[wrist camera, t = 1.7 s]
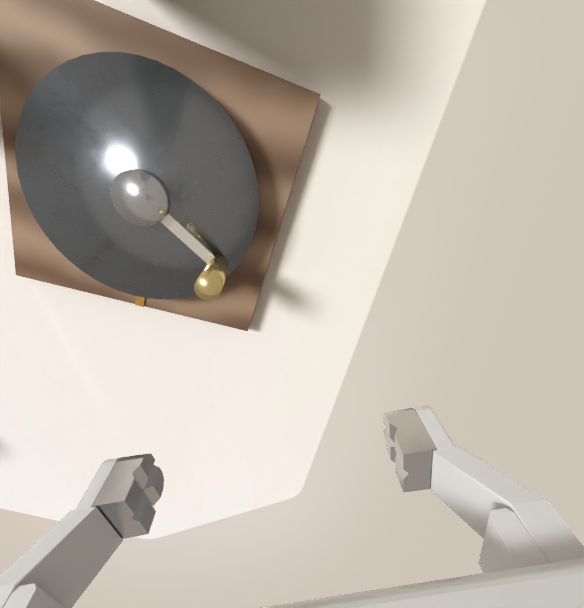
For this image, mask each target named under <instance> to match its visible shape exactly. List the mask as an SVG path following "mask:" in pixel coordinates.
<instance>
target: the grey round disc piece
mask: <svg viewBox="0 0 584 608" xmlns="http://www.w3.org/2000/svg"><path fill="white" fill-rule="evenodd" d="M15 155H16V165H17V172H18V177H19V180H20V184H21V188H22V191H23V194H24V196H25V199H26V201H27V204H28V206H29V208H30V210H31V212H32V214H33V216H34V218H35V219H36V221H37V223H38V224H39V226H40V227H41V229H42V230H43V232H44V233H45V235H46V236H47V237H48V239H49V240H50V241H51V242H52V243H53V245H54V246H55V247H56V248H57V249H58V250H59V251H60V252H61V253H62V254H63V255H64V256H65V257H66V258H67V259H68V260H69V261H70V262H71V263H73V264H74V265H75V266H76V267H77V268H79V269H80V270H81V271H83V272H84V273H86V274H87V275H89V276H90V277H92V278H93V279H95V280H97V281H99V282H100V283H102V284H104V285H106V286H108V287H111V288H113V289H115V290H118V291H120V292H123V293H127V294H130V295H133V296H138V297H143V298H150V299H176V298H183V297H188V296H191V295H195V294H197V296H198V297H200V298H201V299H203V300H207V301H211V300H215V299H216V298H218V297H219V295H220V293H221V291H222V288H223V285H224V283H225V280H226V277H227V276H228V275H229V274H230V273H231V272H232V271H233V270H234V269H235V268H236V267H237V266H238V264H239V263H240V262H241V260H242V259H243V257H244V256H245V254H246V252H247V250H248V248H249V246H250V244H251V241H252V238H253V235H254V233H255V229H256V224H257V219H258V214H259V185H258V179H257V174H256V169H255V166H254V162H253V159H252V156H251V153H250V151H249V149H248V146H247V144H246V142H245V140H244V138H243V136H242V134H241V133H240V131H239V129H238V128H237V126H236V124H235V123H234V122H233V120H232V119H231V118H230V116H229V115H228V114H227V112H226V111H225V110H224V109H223V108H222V106H221V105H220V104H219V103H218V102H217V101H216V100H215V99H214V98H213V97H212V96H211V95H210V94H208V93H207V92H206V91H205V90H204V89H202V88H201V87H200V86H199V85H198V84H196V83H195V82H194V81H193V80H191V79H190V78H188V77H187V76H185V75H183V74H182V73H180V72H179V71H177V70H176V69H174V68H172V67H169V66H167V65H165V64H163V63H161V62H159V61H156V60H153V59H150V58H147V57H144V56H141V55H136V54H130V53H124V52H97V53H91V54H85V55H82V56H79V57H76V58H73V59H71V60H68V61H66V62H64V63H63V64H61V65H59V66H57V67H56V68H54V69H52V70H51V71H50V72H49V73H48V74H47V75H46V76H45V77H43V78H42V79H41V80H40V81H39V83H38V84H37V85H36V86H35V88H34V89H33V90H32V92H31V93H30V95H29V97H28V99H27V101H26V103H25V105H24V106H23V109H22V112H21V115H20V118H19V122H18V126H17V133H16V140H15Z"/></svg>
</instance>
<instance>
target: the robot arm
mask: <svg viewBox="0 0 584 608" xmlns="http://www.w3.org/2000/svg"><path fill="white" fill-rule="evenodd" d="M383 422H384V424H385V426H386V428H385V430H384V438H385V443H386V447H387V450H388V453H389V456H390V458H391V460H392V461H394V462H395V464H396V465H395V466H396V474H397V477H398V479H399V482H400V484H401V487H402V489H403V492H409V491H416V490H424V489H431V491H432V492H433V493H434V494H435V495H437V496H438V497H439V498H440V499H441V500H442V501H443V502H444V503H445V504H446V505H447V506H449V507H450V508H451V509H452V510H453V511H454V512H455V513H456V514H457V515H458V516H459V517H460V518H462V519H463V520H464V521H465V522H466V523H467V524H468V525H469V526H470V527H471V528H472V529H474V530H475V531H476V532H477V533H478V534H479V535H480V536H481V537H482V538H483V539H484V541H483V546H482V550H481V555H480V559H479V565H480V567H481V569H482V571H483V573H482V574H476V575H469V576H463V577H456V578H449V579H443V580H436V581H430V582H423V583H417V584H410V585H404V586H398V587H391V588H384V589H378V590H371V591H365V592H358V593H352V594H345V595H339V596H332V597H326V598H319V599H313V600H306V601H300V602H294V603H287V604H280V605H274V606H267V607H261V608H584V546H583V545H582V544H581V543H580V541H579V540H578V539H577V538H576V536H575V535H574V534H573V533H572V532H571V530H570V529H569V528H568V527H567V525H566V524H565V523H564V521H563V520H562V519H561V518H560V516H559V515H558V514H557V512H556V511H555V510H554V509H553V507H552V506H551V505H550V504H549V502H548V501H547V500H546V499H544V498H542V497H541V496H539V495H537V494H536V493H534V492H533V491H531V490H529V489H528V488H526V487H525V486H523V485H522V484H520V483H518V482H517V481H515V480H513V479H512V478H510V477H509V476H507V475H506V474H504V473H502V472H501V471H499V470H498V469H496V468H494V467H493V466H491V465H489V464H488V463H486V462H485V461H483V460H481V459H480V458H478V457H477V456H475V455H474V454H472V453H470V452H469V451H467V450H466V449H464V448H462V447H461V446H457V447H455V445H454V444H453V442H452V440H451V439H450V437H449V436H448V434H447V433H446V431H445V430H444V428H443V426H442V425H441V423H440V422H439V420H438V418H437V417H436V416H435V414H434V412H433V411H432V409H431V408H430V407H429V406H422V407H417V408H413V409H412V408H409V409H404V410H399V411H393V412H388V413H384V414H383ZM154 461H155V459H154V457H153V456H152V454H143V455H136V456H129V457H122V458H116V459H110V460H106V461H104V462H103V463H102V464H101V466H100V467H99V469H98V471H97V473H96V474H95V476H94V478H93V480H92V481H91V483H90V485H89V487H88V489H87V490H86V492H85V494H84V496H83V497H82V499H81V501H80V503H79V504H78V506H77V508H76V510H72V511H70V512H69V513H68V514H67V515H66V516H65V517H64V518H62V519H61V520H60V521H59V522H58V523H57V524H56V525H55V526H54V527H53V528H51V529H50V530H49V531H48V532H47V533H46V534H45V535H44V536H43V537H42V538H41V539H40V540H38V541H37V542H36V543H35V544H34V545H33V546H32V547H31V548H30V549H28V550H27V551H26V552H25V553H24V554H23V555H22V556H21V557H20V558H19V559H18V560H16V561H15V562H14V563H13V564H12V565H11V566H10V567H9V568H8V569H7V570H5V571H4V572H3V573H2V574H1V575H0V608H72V606H73V605H74V604H75V603H76V601H77V600H78V599H79V597H80V596H81V595H82V593H83V592H84V591H85V590H86V588H87V587H88V586H89V584H90V583H91V582H92V580H93V579H94V578H95V576H96V575H97V574H98V572H99V571H100V570H101V569H102V567H103V566H104V564H105V563H106V562H107V561H108V559H109V558H110V557H111V555H112V554H113V553H114V551H115V550H116V549H117V548H118V546H119V545H120V544H121V542H122V541H123V540H122V539H124V538H129V537H135V536H140V535H145V534H148V533H149V530H150V527H151V524H152V521H153V518H154V515H155V512H156V511H155V508H154V504H155V503H156V502H157V501H158V500H159V499H160V497H161V494H162V491H163V484H164V477H163V473H162V471H161V469H160V468H159V467H157V466H155V465H153V464H154Z"/></svg>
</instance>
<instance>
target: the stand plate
mask: <svg viewBox="0 0 584 608" xmlns="http://www.w3.org/2000/svg"><path fill="white" fill-rule="evenodd" d="M97 52H124V53H130V54H136V55H141V56H144V57H147V58H150V59H153V60H156V61H159V62H161V63H163V64H165V65H167V66H169V67H172V68H174V69H176V70H177V71H179V72H180V73H182V74H183V75H185V76H187V77H188V78H190V79H191V80H193V81H194V82H195V83H196V84H198V85H199V86H200V87H201V88H202V89H204V90H205V91H206V92H207V93H208V94H210V95H211V96H212V97H213V98H214V99H215V100H216V101H217V102H218V103H219V104H220V105H221V106H222V108H223V109H224V110H225V111H226V112H227V114H228V115H229V116H230V118H231V119H232V120H233V122H234V123H235V124H236V126H237V128H238V129H239V131H240V133H241V134H242V136H243V138H244V140H245V142H246V144H247V146H248V149H249V151H250V153H251V156H252V159H253V162H254V166H255V169H256V174H257V179H258V185H259V214H258V219H257V224H256V229H255V233H254V235H253V238H252V241H251V244H250V246H249V248H248V250H247V252H246V254H245V256H244V257H243V259H242V260H241V262H240V263H239V264H238V266H237V267H236V268H235V269H234V270H233V271H232V272H231V273H230V274H229V275H228V276H227V277H226V280H225V283H224V285H223V288H222V291H221V293H220V295H219V297H218V298H216V299H215V300H211V301H207V300H203V299H201V298H200V297H198V296H197V294H195V295H191V296H188V297H183V298H176V299H150V298H143V297H138V296H133V295H130V294H127V293H123V292H120V291H118V290H115V289H113V288H111V287H108V286H106V285H104V284H102V283H100V282H99V281H97V280H95V279H93V278H92V277H90V276H89V275H87V274H86V273H84V272H83V271H81V270H80V269H79V268H77V267H76V266H75V265H74V264H73V263H71V262H70V261H69V260H68V259H67V258H66V257H65V256H64V255H63V254H62V253H61V252H60V251H59V250H58V249H57V248H56V247H55V246H54V245H53V243H52V242H51V241H50V240H49V239H48V237H47V236H46V235H45V233H44V232H43V230H42V229H41V227H40V226H39V224H38V223H37V221H36V219H35V218H34V216H33V214H32V212H31V210H30V208H29V206H28V204H27V201H26V199H25V196H24V194H23V191H22V188H21V184H20V180H19V177H18V172H17V165H16V155H15V140H16V133H17V126H18V122H19V118H20V115H21V112H22V109H23V106H24V105H25V103H26V101H27V99H28V97H29V95H30V93H31V92H32V90H33V89H34V88H35V86H36V85H37V84H38V83H39V81H40V80H41V79H42V78H43V77H45V76H46V75H47V74H48V73H49V72H50V71H51V70H52V69H54V68H56V67H57V66H59V65H61V64H63V63H64V62H66V61H68V60H71V59H73V58H76V57H79V56H82V55H85V54H91V53H97ZM319 97H320V94H318V93H315V92H313V91H310V90H308V89H306V88H303V87H301V86H298V85H296V84H294V83H291V82H289V81H286V80H284V79H282V78H279V77H277V76H274V75H272V74H270V73H267V72H265V71H262V70H260V69H258V68H255V67H253V66H250V65H248V64H246V63H243V62H241V61H238V60H236V59H234V58H231V57H229V56H226V55H224V54H221V53H219V52H217V51H214V50H212V49H209V48H207V47H205V46H202V45H200V44H197V43H195V42H193V41H190V40H188V39H185V38H183V37H181V36H178V35H176V34H173V33H171V32H169V31H166V30H164V29H161V28H159V27H157V26H154V25H152V24H149V23H147V22H145V21H142V20H140V19H137V18H135V17H133V16H130V15H128V14H125V13H123V12H121V11H118V10H116V9H113V8H111V7H109V6H106V5H104V4H101V3H99V2H97V1H94V0H0V105H1V116H2V127H3V138H4V149H5V159H6V170H7V181H8V192H9V203H10V214H11V225H12V236H13V247H14V258H15V269H16V275H18V276H22V277H26V278H31V279H35V280H39V281H43V282H47V283H51V284H55V285H59V286H64V287H68V288H72V289H76V290H80V291H84V292H88V293H92V294H97V295H101V296H105V297H109V298H113V299H117V300H121V301H125V302H130V303H134V304H135V305H138V306H142V307H144V306H146V307H150V308H154V309H159V310H163V311H167V312H171V313H175V314H179V315H183V316H187V317H192V318H196V319H200V320H204V321H208V322H212V323H216V324H220V325H225V326H229V327H233V328H237V329H241V330H245V331H248V328H249V325H250V322H251V318H252V315H253V312H254V309H255V305H256V302H257V299H258V296H259V292H260V289H261V286H262V283H263V279H264V276H265V273H266V270H267V266H268V263H269V260H270V257H271V253H272V250H273V247H274V244H275V240H276V237H277V234H278V231H279V227H280V224H281V221H282V218H283V214H284V211H285V208H286V205H287V201H288V198H289V195H290V192H291V188H292V185H293V182H294V179H295V175H296V172H297V169H298V166H299V162H300V159H301V156H302V153H303V149H304V146H305V143H306V140H307V136H308V133H309V130H310V127H311V123H312V120H313V117H314V114H315V110H316V107H317V104H318V101H319Z"/></svg>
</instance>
